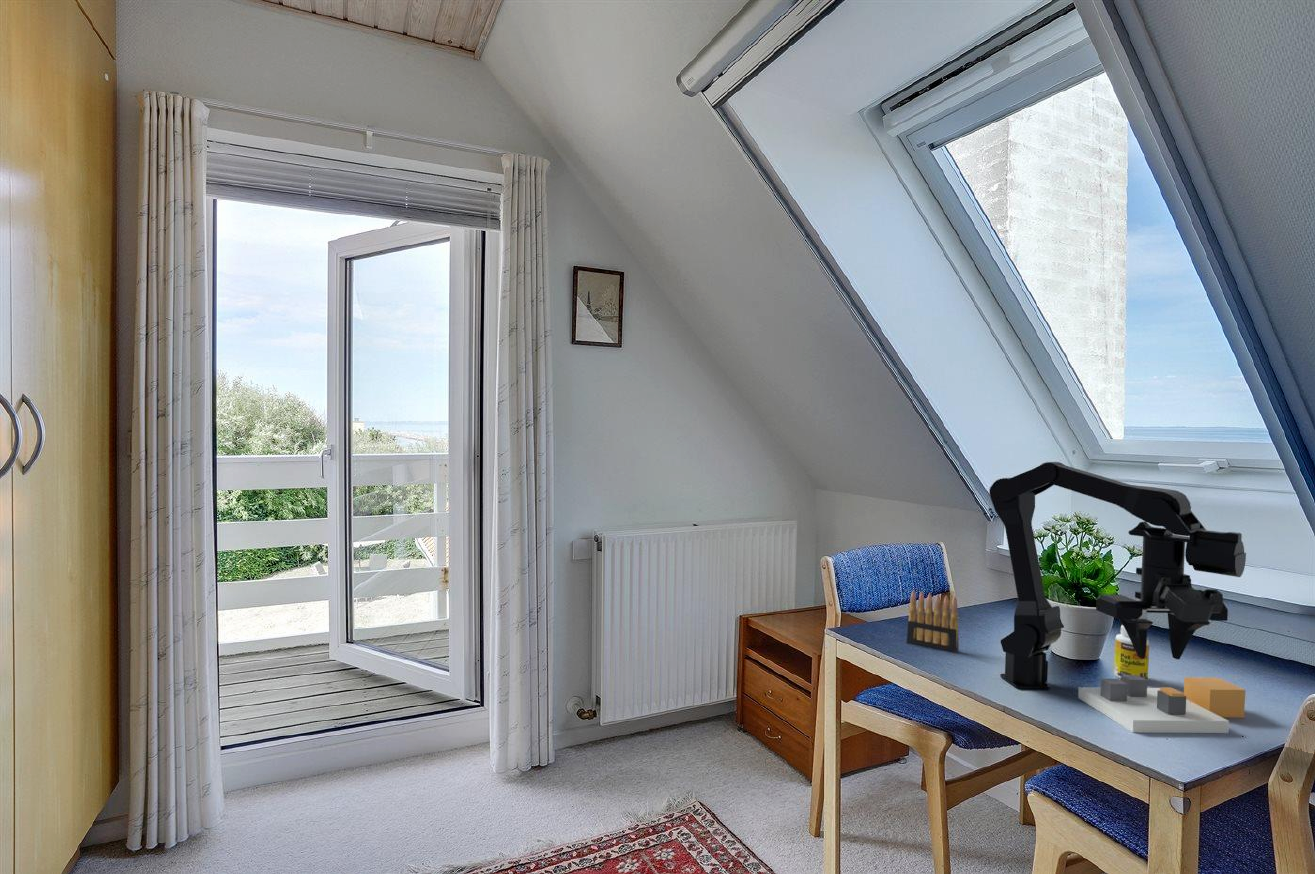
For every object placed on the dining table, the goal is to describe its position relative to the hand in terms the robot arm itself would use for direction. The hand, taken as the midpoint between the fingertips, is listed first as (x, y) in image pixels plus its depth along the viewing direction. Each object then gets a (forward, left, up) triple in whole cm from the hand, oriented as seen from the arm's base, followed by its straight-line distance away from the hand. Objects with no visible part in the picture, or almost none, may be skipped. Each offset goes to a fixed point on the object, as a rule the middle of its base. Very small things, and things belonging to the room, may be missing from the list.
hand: (1158, 658), depth 118 cm
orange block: (+15, +6, -11) cm, 19 cm away
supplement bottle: (+11, +21, -11) cm, 26 cm away
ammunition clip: (-21, +39, -11) cm, 45 cm away
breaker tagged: (+3, 0, -9) cm, 9 cm away
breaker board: (+2, +4, -11) cm, 12 cm away
